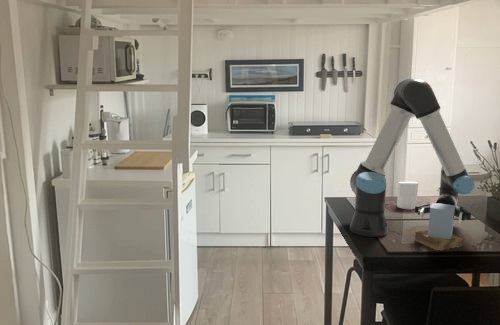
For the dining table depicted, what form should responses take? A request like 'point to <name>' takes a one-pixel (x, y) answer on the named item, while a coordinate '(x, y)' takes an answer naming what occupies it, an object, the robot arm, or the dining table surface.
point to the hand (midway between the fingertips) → (439, 218)
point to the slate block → (441, 220)
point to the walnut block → (438, 241)
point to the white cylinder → (407, 195)
